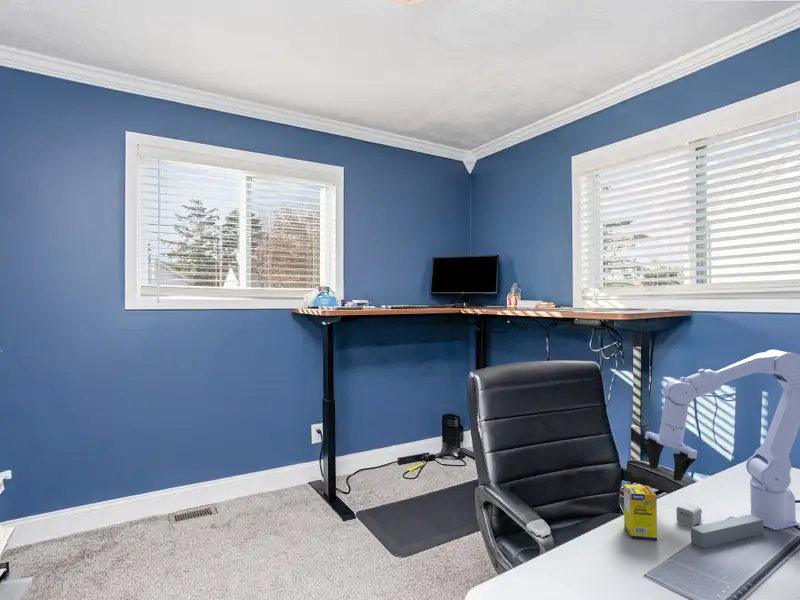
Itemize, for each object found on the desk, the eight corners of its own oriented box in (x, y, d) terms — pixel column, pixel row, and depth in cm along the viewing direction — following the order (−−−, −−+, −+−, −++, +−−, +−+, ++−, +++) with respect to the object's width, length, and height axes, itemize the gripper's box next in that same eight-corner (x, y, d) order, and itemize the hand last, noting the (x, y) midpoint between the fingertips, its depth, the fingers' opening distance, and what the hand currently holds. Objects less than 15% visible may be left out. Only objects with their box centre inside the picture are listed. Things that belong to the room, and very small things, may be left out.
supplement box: (658, 541, 108) (657, 495, 109) (630, 539, 110) (629, 493, 110) (649, 529, 114) (648, 485, 114) (623, 527, 115) (623, 483, 116)
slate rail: (750, 528, 114) (750, 514, 114) (763, 534, 111) (763, 519, 111) (691, 542, 108) (690, 527, 108) (703, 548, 105) (702, 533, 105)
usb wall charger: (676, 521, 118) (676, 506, 118) (689, 514, 122) (688, 499, 122) (693, 527, 115) (693, 511, 115) (705, 520, 119) (705, 504, 119)
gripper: (639, 416, 130) (632, 462, 130) (686, 434, 116) (677, 486, 117) (658, 417, 132) (651, 463, 133) (706, 434, 119) (697, 485, 119)
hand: (665, 473), depth 125 cm, fingers open, 7 cm apart
